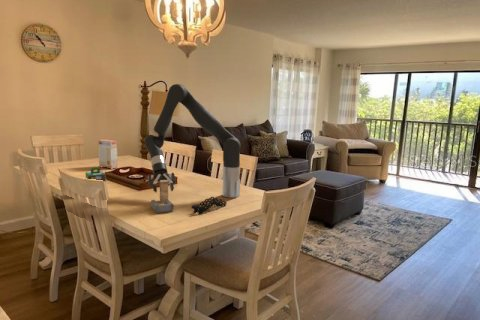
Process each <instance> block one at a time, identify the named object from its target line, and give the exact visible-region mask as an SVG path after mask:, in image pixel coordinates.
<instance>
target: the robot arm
mask: <svg viewBox="0 0 480 320" xmlns="http://www.w3.org/2000/svg"><path fill="white" fill-rule="evenodd" d="M179 103H180V104H181V105H182V106H184V108H186V109H187V110H188V112H189V113H190V115H191V116H192V118H193V119H194V120H195V122H196V123H197V124H198V125H199V126H200V128H202V129H203V130H205V132H207V133H208V134H210V135H212V136H213V137H214V138H216V139H217V140H218V141H219V143H221V145H222V146H223V147H222V150H223V151H222V153H223V154H222V162H223V166H222V196H223V197H225V198H234V199H235V198H236V199H237V198H238V197H239V196H240V195H241V194H240V193H241V179H240V170H241V169H240V168H241V167H240V166H241V163H240V162H241V161H240V157H241V155H240V154H241V146H242V144H241V142H240V140H239V139H238V138H237V137H235V135H233V134H231V132H229V131H228V130H227V129H226V128H225V127H224V125H222V123H221V122H220V120H218V119H217V117H215V116H214V114H213V113H211V111H209V110H208V109H207V108H206V106H204V105H203V104H202V103H200V102H199V101H198V100H197V99H196V98H195V97H194V96H193V94H191V92H190V91H189V89H188V88H187V87H186V86H184V85H183V84H181V83H175V84H172V85H171V86H170V87H169V89H168V92H167V95H166V98H165V102H164V105H163V107H162V109H161V112H160V115H159V116H158V119H157V121H156V123H155V125H154V127H153V131H154V132H155V133H156V134H157V135H153V134H148V135H146V137H145V138H144V144H145V147H146V150H147V152H148V153H149V155H150V162H151V168H152V172H153V174H151V173H148V175H147V182H148V187H152V189H153V192H154V193H157V192H158V188H157V184H158V183H160V181H161V180H167V181H168V185H169V188H170V192H174V189H175V186H174V185H175V184H176V182H177V180H176V177H175V173H174V172H172V173H169V172H168V168H167V163H166V159H165V157H164V151H163V150H162V149H161V148H162V147H163V146H164V144H165V137H166V133H167V131H168V128H169V126H170V125H171V123H172V120H173V119H172V118H173V114H174V112H175V110H176V108H177V107H178V105H179ZM153 179H154V181H152V180H153Z"/></svg>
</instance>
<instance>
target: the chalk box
mask: <svg viewBox="0 0 480 320" xmlns="http://www.w3.org/2000/svg"><path fill="white" fill-rule="evenodd" d="M94 170H95V171H94ZM86 178H87V179H96V180H103V181H105V182H106V181H107V179H106V178H107V177H106V173H105V172H104V171H103V170H101V167H98V166H96V167H91V168H90V171H87V172H85V179H86Z"/></svg>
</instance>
